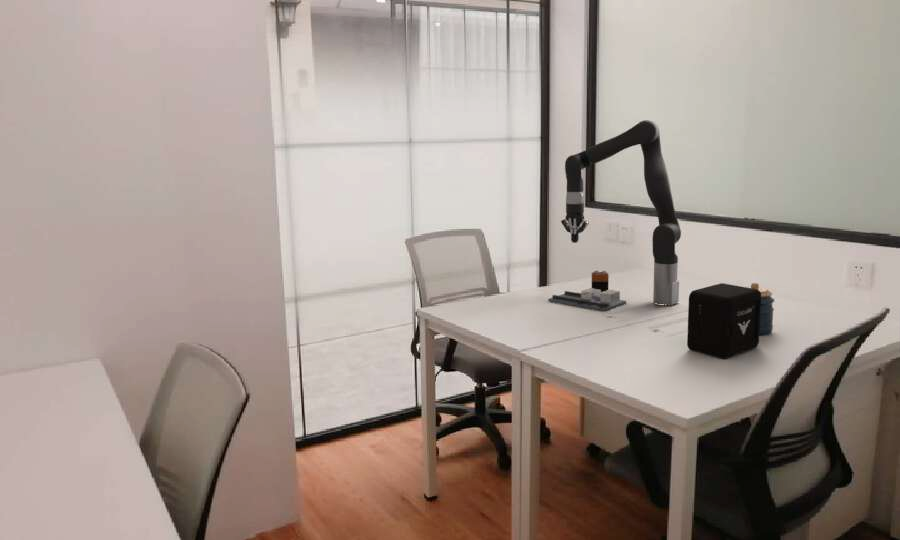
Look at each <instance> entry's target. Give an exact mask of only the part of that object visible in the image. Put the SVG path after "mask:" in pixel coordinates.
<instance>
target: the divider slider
mask: <svg viewBox="0 0 900 540" xmlns="http://www.w3.org/2000/svg"><path fill="white" fill-rule="evenodd" d="M580 293H581V300H587V301H593V302H594V301H597V300H599V299H600V293H601V290H599V289H593V288H592V287H591V288H586V289H584V290H581V291H580Z"/></svg>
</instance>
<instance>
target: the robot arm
mask: <svg viewBox="0 0 900 540" xmlns="http://www.w3.org/2000/svg"><path fill="white" fill-rule="evenodd" d="M660 133H661V132H660V127H659V126H658V124H657V123H656V122H654V121H651V120H649V119H646V120H642V121H641V120H640V121H639V122H638V123H636V124H635V125H634V126H632V127H631V128H629V129H628V130H625V131H624V132H622V133H620V134H618V135H616V136H614V137H612V138H609V139H607V140H604V141H602V142H599V143H597V144H595V145H592V146H590V147H588V148H587V149H586V150H582V151H581V152H579V153H575V154H572V155H569V156H567V158H566V159H565V162H564V170H565V171H564V173H565V178H566V195H565V214H566V215H565V218H564V219H561V221H560V223H561V224H562V225H563V227H564V229H565V230H566V232H567V233H570V240H571V243H574V244H576V243H577V244H578V242H579V240H580V239H579V235H580V234H581V233H583V232H584V231H585V229H586V228H587V227H588V226H589V221H588V220H586V219H585V216H584V214H585V213H584V212H585V195H584V179H583V178H582V170H584V169H586V168H588V167H589V166H592V165H594V164H597V163H599V162H602V161H604V160H606V159H609V158H612V157H613V156H615V155H617V154H618V153H620V152H622V151H624V150H626V149H629V148H631V147H633V146H638V145H640V147H641V151H642V155H643V176H644V177H643V178H644V182H645V188H646V193H647V196H648V198H649V200H650V202H651V204H652V205H653V207H654V209H655V211H656V214H657V215H656V216H657V218H658V225H657V226H656V227H655V228H654V229H653V232H652V240H651V241H652V256H653V297H652V299H653V300H652V301H653V302H654V303H657V304H664V305H665V304H666V305H673V304H675V303H677V302H679V301H680V299H679V298H680V297H679V296H680V281H679V280H678V267H679V265H678V264H679V258H678V257H679V256H678V255H677V253H676V243H678V242H679V241H680V239H681V235H682V230H681V226H680V223H679V221H678V217H677V214H676V211H675V206H674V201H673V200H674V199H673V196H672V190H671V184H670V179H669V175H668V170H667V166H666V163H665V159H664V157H663V153H662V145H661V134H660ZM653 302H652V303H653ZM654 303H653V304H654ZM675 305H676V304H675ZM673 306H674V305H673Z"/></svg>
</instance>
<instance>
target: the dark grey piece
mask: <svg viewBox="0 0 900 540" xmlns="http://www.w3.org/2000/svg"><path fill="white" fill-rule="evenodd" d="M620 292H621V291H620V290H615V289H608V290H606V291H604V292H601V293H600V299H599V300H597V301H594V302H593V301H587V300H581V292H574V291H567V290H565V291H564V293H563V294H559V295H556V294H552V297H550V298H548V299H547V300H548V301H550V302H549V303H553V302H555V303H554V304H558V303H559V305H565V306H570V307H576V308H583V309H587V310H592V309H593V311H598V310H599V312H603V311H605V312H604V313H606V311H607V312H609V311H612V310H614V309H617V308H619V307H618V306H620V307H622V306H625V305H627V301H626V300H622V299H620V297H621V293H620ZM624 304H625V305H624ZM621 305H622V306H621ZM616 307H617V308H616ZM611 309H612V310H611Z"/></svg>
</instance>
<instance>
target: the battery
mask: <svg viewBox="0 0 900 540" xmlns="http://www.w3.org/2000/svg"><path fill="white" fill-rule="evenodd" d="M591 288H593V289H599V290H601V292H604V291H606V290H609V273H608V271H606V270H602V271H599V270H594V271H593V272H591Z"/></svg>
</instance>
